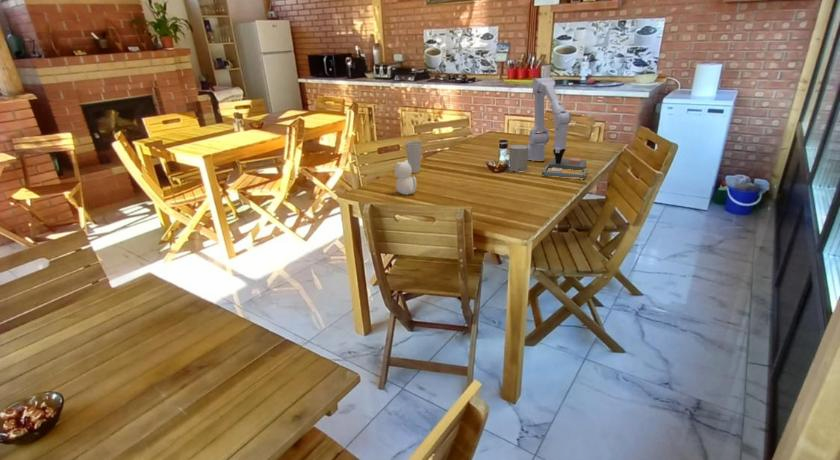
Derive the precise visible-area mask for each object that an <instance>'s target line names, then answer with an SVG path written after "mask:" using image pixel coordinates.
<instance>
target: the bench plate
mask: <svg viewBox="0 0 840 460" xmlns="http://www.w3.org/2000/svg"><path fill="white" fill-rule="evenodd" d="M569 160H570V158H564V157H562V160H561V163H560V164H556V161H555V157H553V158H552V159H551V160H550V161H549V163H548V165H549V168H563V169H571V170H572V169H573V170H583V169H584V170H585V168H584V166H585V164H586V165H587V160H586V159H580V164H579V165H576V164H569ZM585 167H586V166H585Z"/></svg>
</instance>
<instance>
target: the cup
mask: <svg viewBox="0 0 840 460" xmlns="http://www.w3.org/2000/svg"><path fill="white" fill-rule="evenodd" d="M405 151H406V152H405V153H406V158H407V160H408V163H409V164H410V166H411V168H412V173H411V174H417V173H420V172H421V158H422V141H421V140H420V141H418V140H410V141H406V142H405Z"/></svg>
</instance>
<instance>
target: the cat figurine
mask: <svg viewBox="0 0 840 460" xmlns="http://www.w3.org/2000/svg"><path fill="white" fill-rule="evenodd" d="M412 174H413V173H412V168H411V166H410V164H409V163H408V160H407V159H404V161H398V162H396V165H395V167H394V176H395V177H396V178H397V180H396V183H395V189H396V191H397V192H398V194H401V195H406V196H409V195H412V194H414V193H415V192H416V191H417V187H418V186H417V178H416V177H415V176H414V175H413V176H411V175H412Z"/></svg>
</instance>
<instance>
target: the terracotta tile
mask: <svg viewBox="0 0 840 460" xmlns="http://www.w3.org/2000/svg"><path fill="white" fill-rule="evenodd" d="M569 159H570V160H569V164H576V165H579V164H580V160H581V158H577V157H570V158H569Z"/></svg>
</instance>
